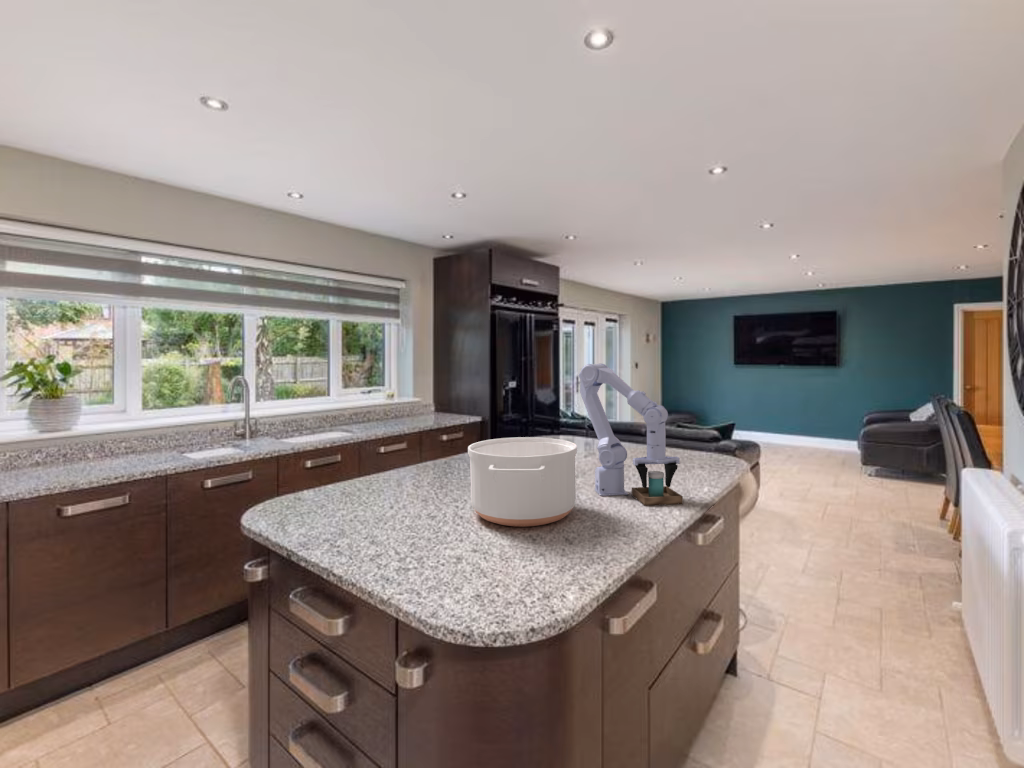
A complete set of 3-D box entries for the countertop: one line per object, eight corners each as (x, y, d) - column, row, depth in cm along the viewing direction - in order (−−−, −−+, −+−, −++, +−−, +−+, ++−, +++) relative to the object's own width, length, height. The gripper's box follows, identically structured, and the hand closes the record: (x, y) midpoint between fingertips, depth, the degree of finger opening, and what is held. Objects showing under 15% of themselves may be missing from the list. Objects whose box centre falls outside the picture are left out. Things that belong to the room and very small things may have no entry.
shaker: (650, 499, 153) (649, 474, 153) (647, 495, 158) (646, 470, 158) (665, 499, 153) (665, 474, 152) (662, 495, 158) (661, 470, 157)
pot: (580, 541, 121) (579, 460, 120) (454, 538, 125) (452, 460, 124) (576, 494, 162) (575, 434, 161) (481, 493, 166) (480, 434, 165)
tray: (644, 505, 149) (644, 497, 149) (631, 495, 161) (631, 487, 161) (682, 504, 150) (682, 496, 150) (667, 493, 162) (667, 486, 162)
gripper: (638, 447, 150) (638, 490, 150) (683, 445, 151) (683, 489, 152) (630, 443, 157) (630, 485, 157) (674, 441, 158) (674, 483, 159)
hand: (656, 486), depth 155 cm, fingers open, 7 cm apart
